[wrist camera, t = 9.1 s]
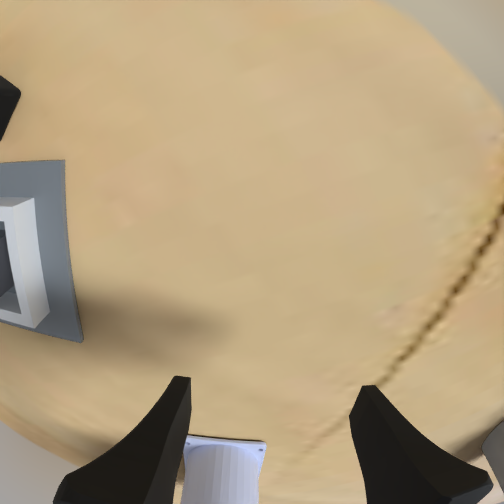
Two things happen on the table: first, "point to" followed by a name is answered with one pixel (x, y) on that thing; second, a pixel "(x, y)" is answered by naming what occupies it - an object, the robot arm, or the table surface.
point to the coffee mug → (496, 452)
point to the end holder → (38, 249)
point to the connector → (5, 265)
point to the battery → (7, 102)
